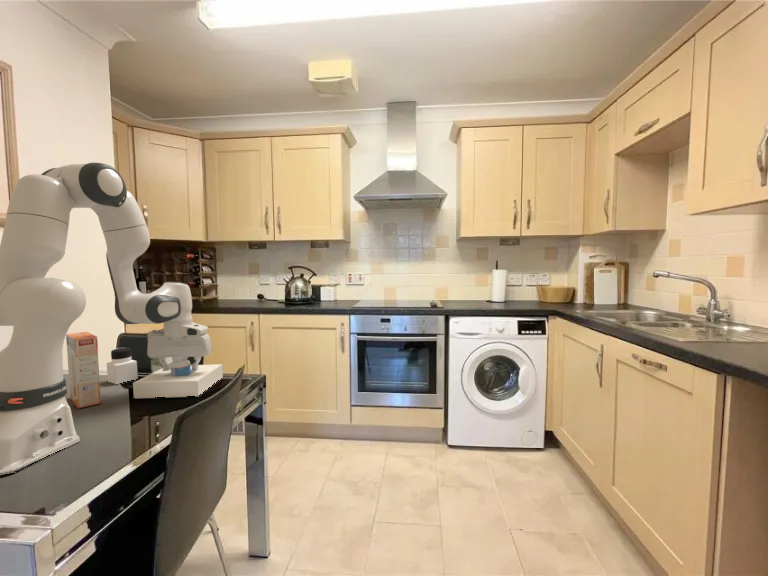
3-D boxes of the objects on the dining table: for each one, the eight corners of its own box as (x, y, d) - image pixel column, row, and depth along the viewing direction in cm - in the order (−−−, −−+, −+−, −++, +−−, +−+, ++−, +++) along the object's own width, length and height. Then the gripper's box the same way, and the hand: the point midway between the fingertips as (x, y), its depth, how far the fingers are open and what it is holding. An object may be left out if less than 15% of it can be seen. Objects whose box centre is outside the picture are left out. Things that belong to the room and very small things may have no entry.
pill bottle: (195, 384, 132) (193, 352, 131) (184, 390, 126) (182, 357, 125) (179, 384, 132) (177, 352, 132) (167, 390, 126) (165, 357, 126)
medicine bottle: (138, 379, 139) (136, 347, 139) (116, 385, 133) (114, 351, 132) (129, 376, 143) (127, 345, 142) (107, 382, 137) (105, 349, 136)
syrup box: (176, 375, 144) (174, 337, 143) (163, 380, 138) (161, 340, 137) (163, 374, 145) (161, 337, 144) (150, 379, 139) (148, 340, 139)
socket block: (198, 396, 120) (197, 378, 119) (133, 398, 119) (132, 381, 118) (222, 377, 140) (222, 362, 139) (167, 379, 139) (166, 364, 138)
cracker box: (102, 403, 115) (98, 335, 113) (77, 409, 110) (72, 338, 109) (93, 393, 124) (88, 330, 123) (69, 398, 120) (64, 333, 119)
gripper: (141, 331, 124) (144, 373, 125) (204, 330, 125) (206, 371, 126) (152, 328, 131) (155, 368, 132) (212, 327, 131) (214, 366, 132)
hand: (180, 369), depth 129 cm, fingers open, 8 cm apart
